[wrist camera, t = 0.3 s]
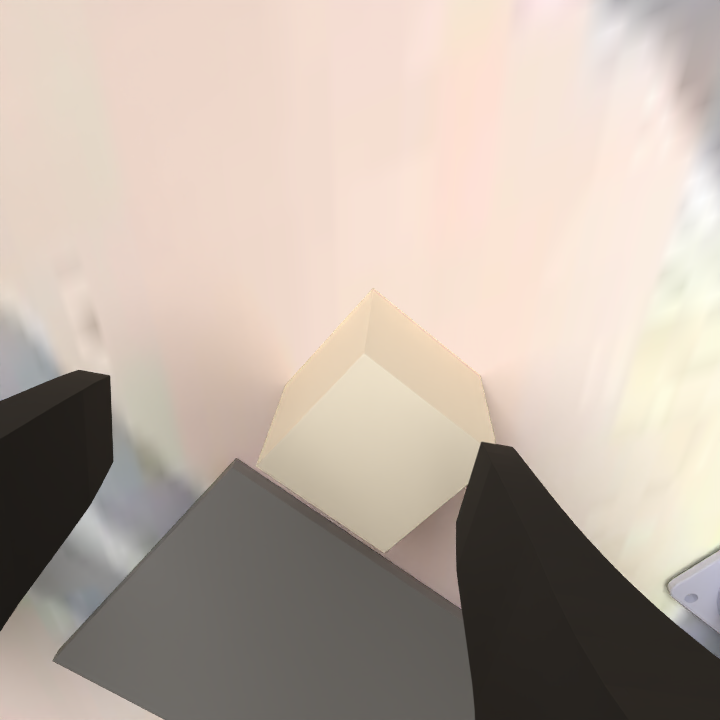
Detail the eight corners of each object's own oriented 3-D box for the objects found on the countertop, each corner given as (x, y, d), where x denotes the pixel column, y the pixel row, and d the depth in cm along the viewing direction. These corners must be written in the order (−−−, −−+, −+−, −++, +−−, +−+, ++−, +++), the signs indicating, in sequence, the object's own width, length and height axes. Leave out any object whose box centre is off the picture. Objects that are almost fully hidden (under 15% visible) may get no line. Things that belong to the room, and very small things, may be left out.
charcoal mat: (578, 688, 28) (581, 700, 28) (364, 812, 35) (363, 823, 34) (236, 458, 24) (232, 467, 23) (58, 650, 30) (52, 660, 29)
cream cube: (479, 374, 21) (499, 458, 17) (388, 458, 23) (384, 553, 19) (373, 287, 20) (364, 353, 16) (285, 383, 22) (256, 466, 18)
